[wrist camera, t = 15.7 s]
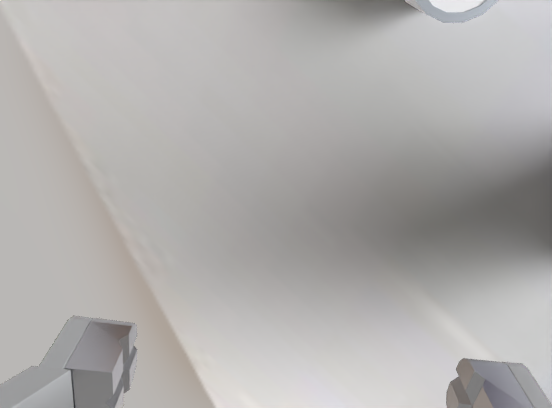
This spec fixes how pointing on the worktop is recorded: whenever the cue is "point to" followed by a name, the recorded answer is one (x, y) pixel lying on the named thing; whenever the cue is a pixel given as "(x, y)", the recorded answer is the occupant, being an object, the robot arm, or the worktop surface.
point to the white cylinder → (452, 9)
